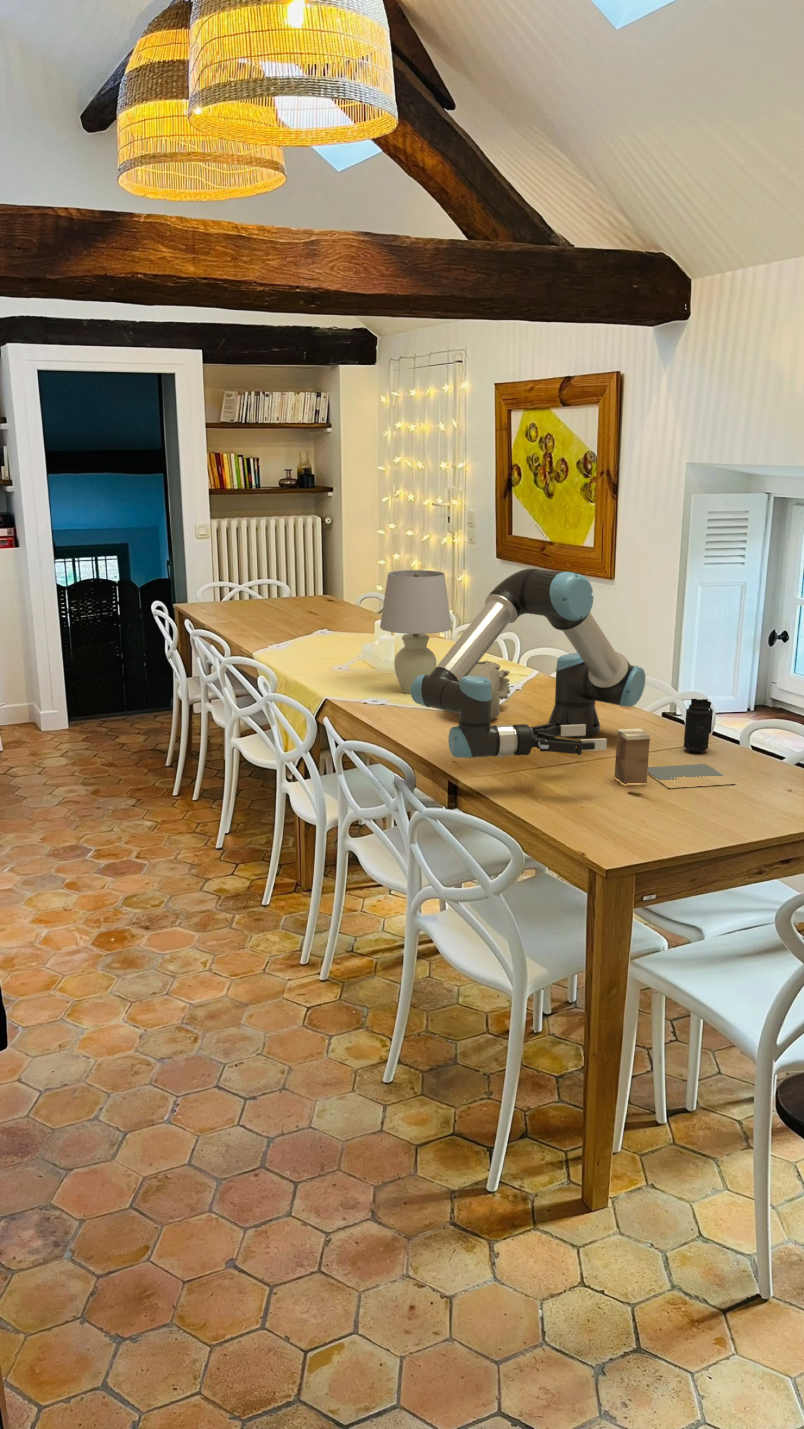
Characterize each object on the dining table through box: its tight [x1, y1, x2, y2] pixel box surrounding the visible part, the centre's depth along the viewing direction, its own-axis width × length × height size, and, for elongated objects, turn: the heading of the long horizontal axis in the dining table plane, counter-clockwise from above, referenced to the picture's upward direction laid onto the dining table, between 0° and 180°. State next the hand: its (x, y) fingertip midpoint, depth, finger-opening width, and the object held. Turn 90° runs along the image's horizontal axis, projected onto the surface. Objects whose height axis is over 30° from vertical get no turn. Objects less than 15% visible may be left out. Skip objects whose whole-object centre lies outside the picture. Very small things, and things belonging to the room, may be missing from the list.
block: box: [614, 728, 651, 784], centre depth 266 cm, size 6×6×13 cm
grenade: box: [683, 698, 714, 754], centre depth 292 cm, size 7×7×15 cm
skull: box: [468, 660, 511, 721], centre depth 327 cm, size 20×25×20 cm
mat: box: [647, 763, 724, 780], centre depth 271 cm, size 16×18×1 cm
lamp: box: [379, 569, 452, 695], centre depth 356 cm, size 24×24×40 cm
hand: (595, 736), depth 262 cm, fingers open, 13 cm apart
